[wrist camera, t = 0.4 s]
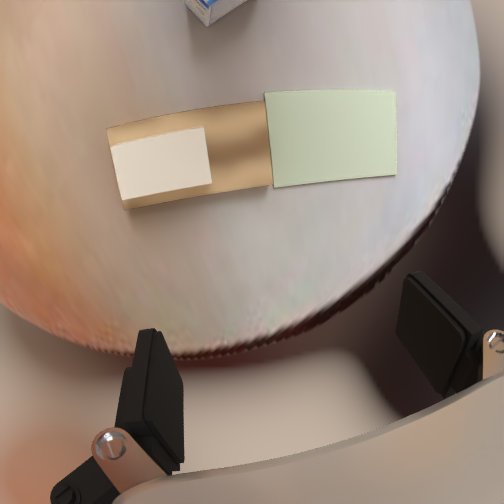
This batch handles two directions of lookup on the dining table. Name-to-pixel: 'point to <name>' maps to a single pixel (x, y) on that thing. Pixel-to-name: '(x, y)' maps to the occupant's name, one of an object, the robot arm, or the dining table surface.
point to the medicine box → (212, 9)
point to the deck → (211, 148)
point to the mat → (331, 135)
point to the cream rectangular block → (162, 163)
